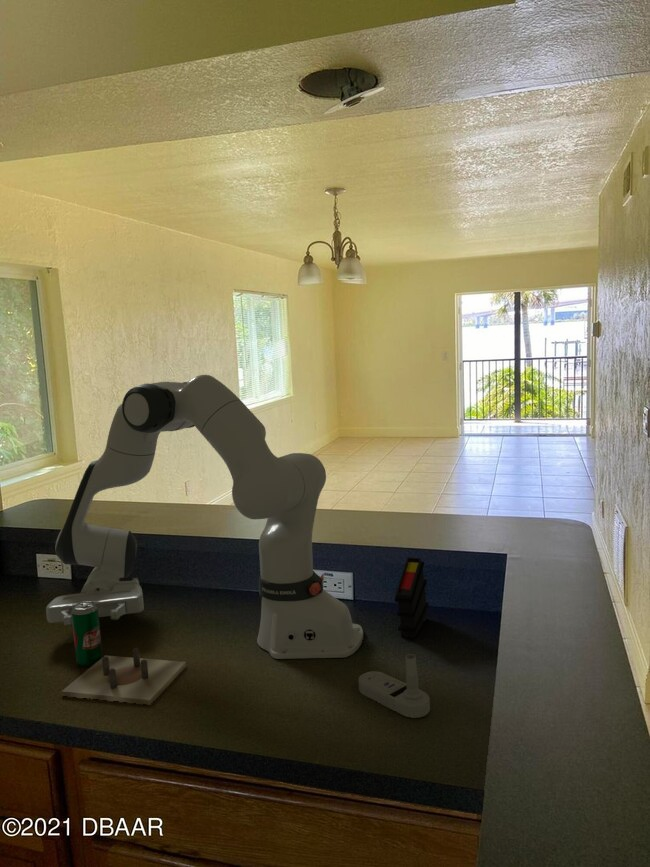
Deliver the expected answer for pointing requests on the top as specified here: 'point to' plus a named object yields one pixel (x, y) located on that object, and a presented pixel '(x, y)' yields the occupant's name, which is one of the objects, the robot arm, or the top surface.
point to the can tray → (125, 679)
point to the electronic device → (397, 690)
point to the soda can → (86, 633)
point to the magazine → (411, 597)
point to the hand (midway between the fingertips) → (90, 619)
